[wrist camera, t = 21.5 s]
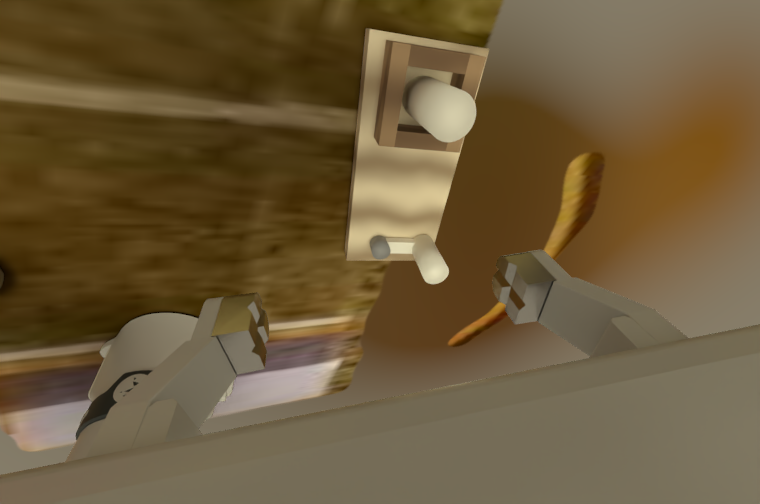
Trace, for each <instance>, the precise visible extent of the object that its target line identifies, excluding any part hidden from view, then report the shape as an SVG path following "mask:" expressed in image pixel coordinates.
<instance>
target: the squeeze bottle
mask: <svg viewBox="0 0 760 504" xmlns="http://www.w3.org/2000/svg"><path fill="white" fill-rule="evenodd" d="M3 281H4V273H3V272H2V270H1V268H0V288H1V286H2V284H3Z"/></svg>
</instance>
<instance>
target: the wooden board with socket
mask: <svg viewBox="0 0 760 504" xmlns="http://www.w3.org/2000/svg"><path fill="white" fill-rule="evenodd" d="M488 52H489V49H485V48H480V47H474V46H468V45H462V44H456V43H450V42H444V41H438V40H433V39H427V38H421V37H415V36H409V35H403V34H397V33H391V32H385V31H380V30H374V29H368V28H366V31H365V42H364V52H363V63H362V73H361V84H360V94H359V105H358V115H357V126H356V137H355V147H354V158H353V168H352V179H351V189H350V200H349V210H348V221H347V232H346V242H345V255H346V260H379V259H376V258H374V257H373V255H372V252H371V248H370V241H371V239H372V238H374V237H375V236H384V237H385V238H411V239H414V238H415V237H416V236H418V235H428V236H430V237H431V239H432V240H433V242H434V243H435V239H436V236H437V232H438V229H439V225H440V222H441V218H442V215H443V211H444V208H445V204H446V201H447V197H448V194H449V190H450V186H451V183H452V179H453V176H454V172H455V169H456V165H457V162H458V158H459V155H460V151H461V148H462V144H463V141H464V137H465V136H464V137H462V138H461V139H459V140H457V141H454V142H442V141H440V140H438V139H436V138H435V137H434V136H433V135H432V134H431V133H429V132H428V131H427V130H426V129H425V128H424V127H423V126H421V125H420V124H419V123H418V122H417V121H416V120H415V119H413V118H412V117H411V116H410V115H409V114H408V113H407V112H406V111H405V109H404V107H403V103H402V97H403V91H404V88H405V86H406V85H407V83H408V82H409V81H410V80H411V79H413V78H414V77H417V76H421V75H425V76H429V77H431V78H434V79H436V80H439V81H441V82H444V83H446V84H449V85H451V86H453V87H456V88H458V89H461V90H463V91H465V92H467V93H468V94H470V96H471V97H472V98H473V100H474V102H475V98H476V95H477V91H478V88H479V84H480V81H481V77H482V74H483V70H484V66H485V63H486V60H487V56H488ZM381 260H415V258H414V256H413V254H396V253H390V255H389V256H388V257H387V258H385V259H381Z"/></svg>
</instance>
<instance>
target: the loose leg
mask: <svg viewBox="0 0 760 504" xmlns="http://www.w3.org/2000/svg"><path fill="white" fill-rule="evenodd" d="M402 103H403V107H404V109H405V111H406V112H407V113H408V114H409V115H410V116H411V117H412V118H413V119H415V120H416V121H417V122H418V123H419V124H420V125H421V126H423V127H424V128H425V129H426V130H427V131H428V132H429V133H431V134H432V135H433V136H434V137H435V138H436V139H438V140H440V141H442V142H454V141H457V140H459V139H461V138H462V137H464V136H465V135H466V134H467V133H468V132H469V131H470V129H471V128H472V126H473V124H474V121H475V117H476V105H475V102H474V100H473V98H472V97H471V96H470V94H468V93H467V92H465V91H463V90H461V89H458V88H456V87H453V86H451V85H449V84H446V83H444V82H441V81H439V80H436V79H434V78H431V77H429V76H425V75H421V76H417V77H414V78H413V79H411V80H410V81H409V82H408V83H407V85H406V86H405V88H404V91H403V97H402Z"/></svg>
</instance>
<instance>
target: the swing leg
mask: <svg viewBox="0 0 760 504" xmlns="http://www.w3.org/2000/svg"><path fill="white" fill-rule="evenodd" d="M370 248H371V252H372V255H373V257H374V258H376V259H379V260H381V259H385V258H387V257H388V256H389V255H390V253H396V254H413V256H414V258H415V260H416V263H417V265H418V267H419V269H420V271H421V274H422V275H423V278H424V280H425V281H426V282H427V283H429V284H437V283H440V282H442V281H443V280H445V278H446V277H447V276H448V274H449V269H448V267H447V265H446V263H445V262H444V260H443V258H442V256H441V255H440V253H439V251H438V249H437V247H436V246H435V244H434V242H433V240H432V239H431V237H430V236H428V235H418V236H416V237H415V238H414V239H411V238H385V237H384V236H375V237H374V238H372V239H371V241H370Z"/></svg>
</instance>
